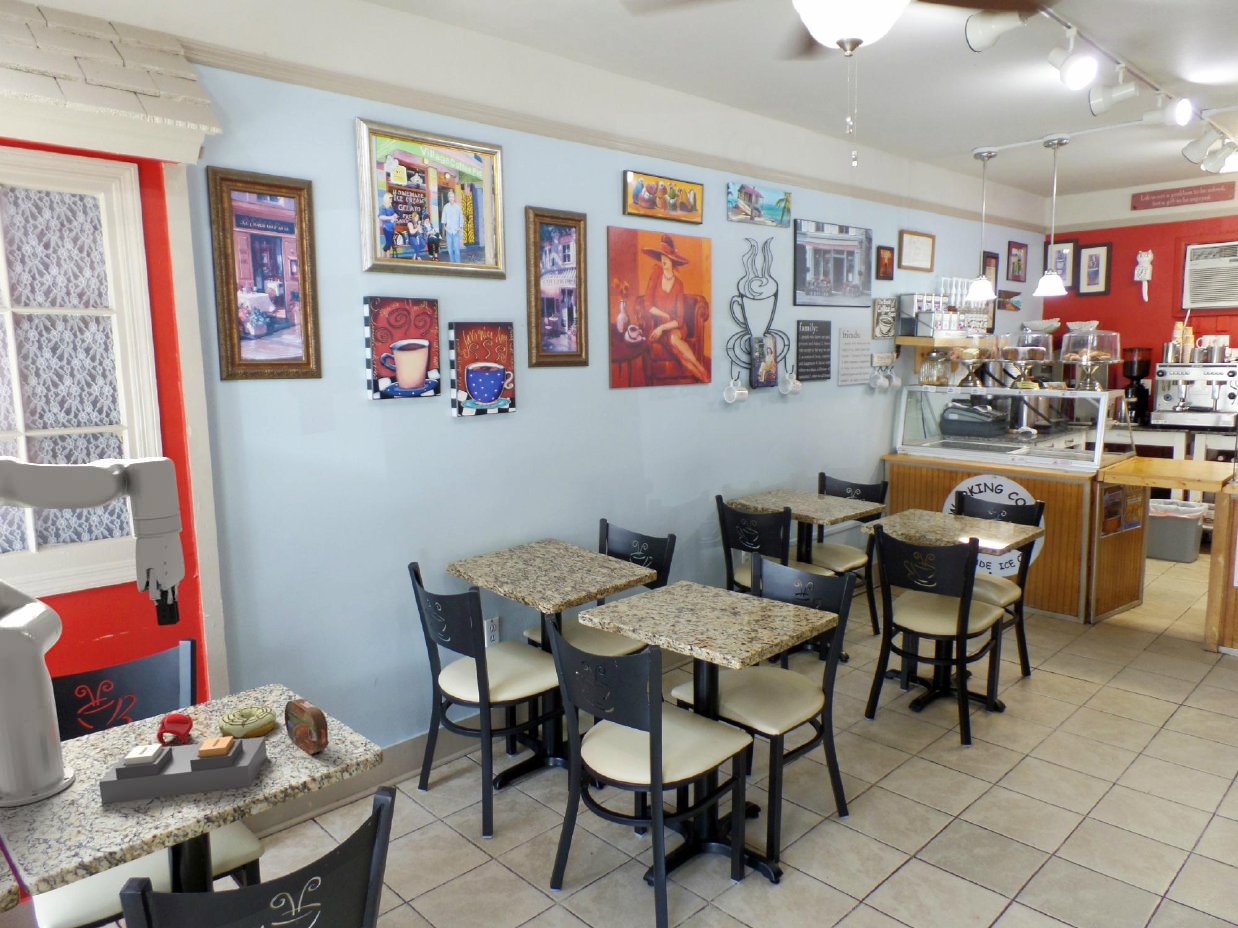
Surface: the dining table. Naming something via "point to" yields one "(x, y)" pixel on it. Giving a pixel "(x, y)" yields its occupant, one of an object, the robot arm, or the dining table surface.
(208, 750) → the orange button
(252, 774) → the grey button panel
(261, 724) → the decorated donut
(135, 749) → the cream button
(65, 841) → the dining table surface
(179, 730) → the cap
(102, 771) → the dining table surface
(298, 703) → the tin
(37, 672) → the robot arm
